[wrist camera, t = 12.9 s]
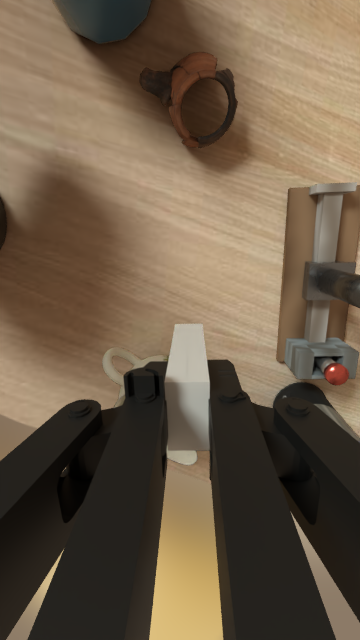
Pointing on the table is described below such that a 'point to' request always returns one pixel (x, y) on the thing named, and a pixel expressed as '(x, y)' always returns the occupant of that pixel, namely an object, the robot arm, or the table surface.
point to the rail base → (303, 245)
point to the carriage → (331, 282)
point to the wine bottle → (103, 17)
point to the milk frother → (315, 402)
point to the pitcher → (117, 377)
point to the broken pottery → (179, 83)
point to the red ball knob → (332, 370)
